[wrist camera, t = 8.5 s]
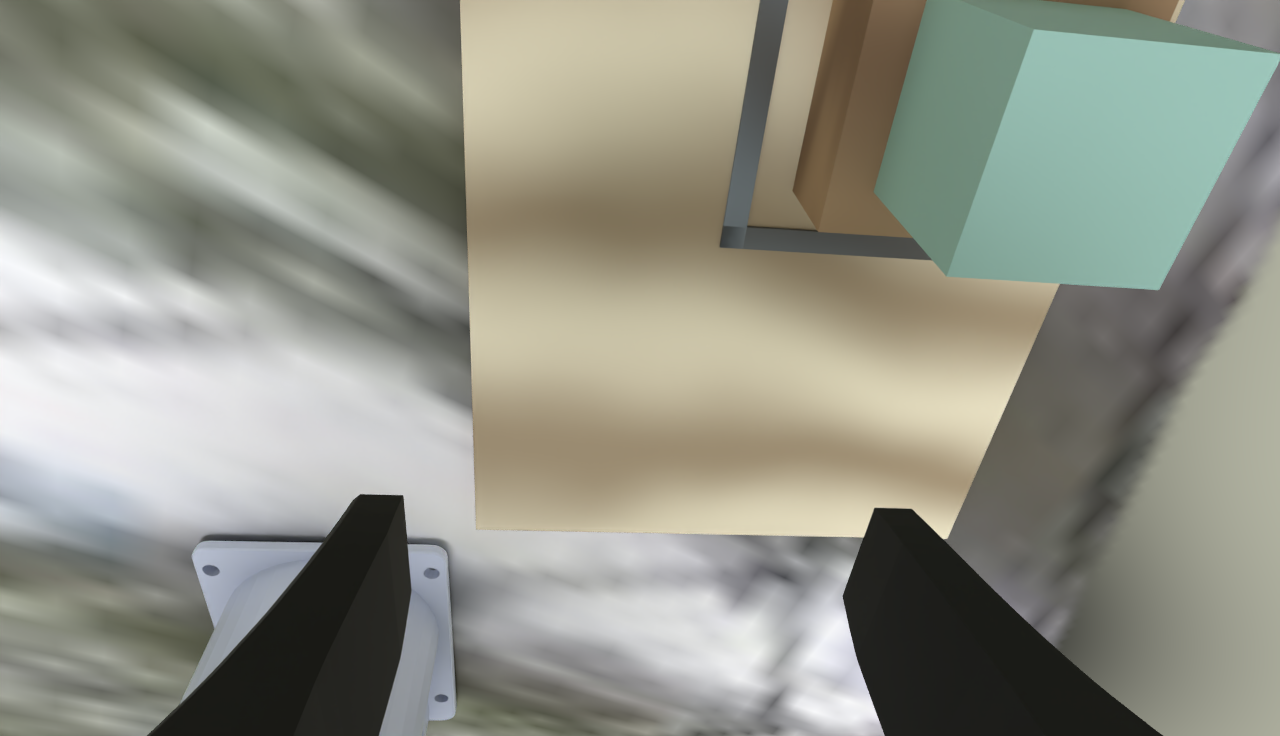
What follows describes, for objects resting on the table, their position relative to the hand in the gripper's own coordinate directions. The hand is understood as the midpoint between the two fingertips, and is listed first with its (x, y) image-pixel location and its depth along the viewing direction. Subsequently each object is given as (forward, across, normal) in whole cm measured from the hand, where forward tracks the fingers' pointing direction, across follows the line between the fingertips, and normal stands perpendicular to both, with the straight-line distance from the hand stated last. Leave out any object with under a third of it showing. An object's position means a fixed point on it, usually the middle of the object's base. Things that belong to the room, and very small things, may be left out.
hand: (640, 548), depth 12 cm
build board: (+10, -4, 0) cm, 11 cm away
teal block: (+7, -7, -5) cm, 12 cm away
